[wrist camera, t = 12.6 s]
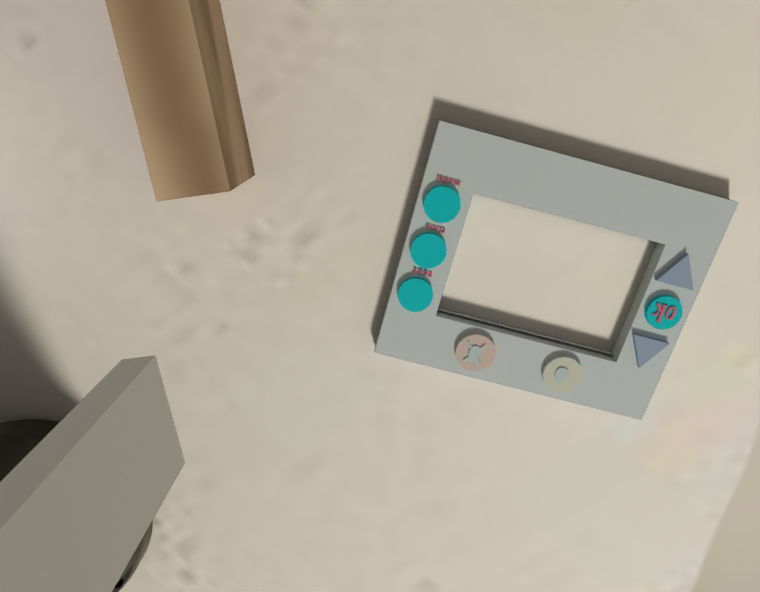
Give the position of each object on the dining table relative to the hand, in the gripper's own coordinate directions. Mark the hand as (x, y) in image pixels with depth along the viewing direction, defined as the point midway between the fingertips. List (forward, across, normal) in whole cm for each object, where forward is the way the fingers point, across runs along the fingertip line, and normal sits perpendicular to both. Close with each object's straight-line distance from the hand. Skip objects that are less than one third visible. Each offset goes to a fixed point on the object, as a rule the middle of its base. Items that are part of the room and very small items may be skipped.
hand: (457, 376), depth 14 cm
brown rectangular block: (+27, -12, +8) cm, 30 cm away
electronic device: (+28, +7, -7) cm, 29 cm away
